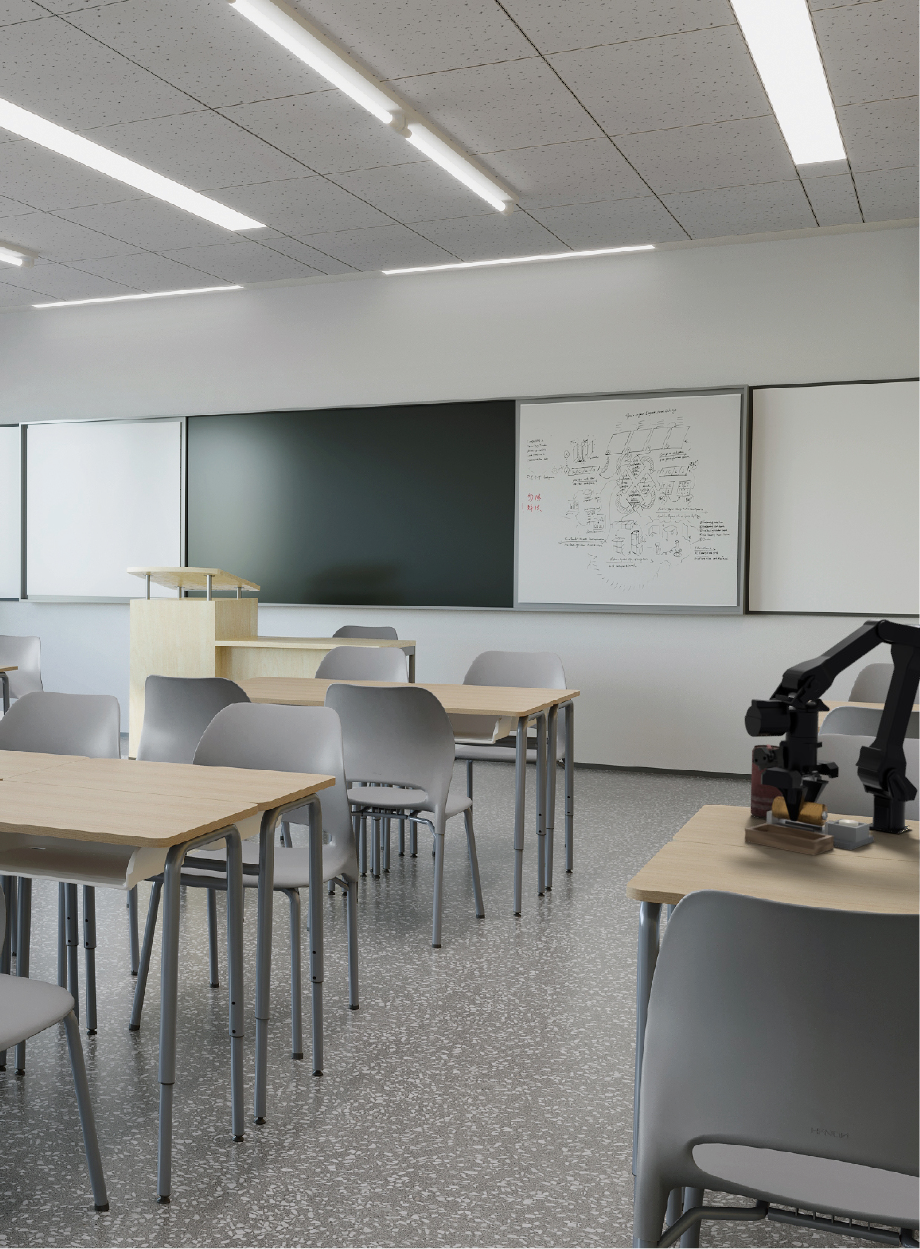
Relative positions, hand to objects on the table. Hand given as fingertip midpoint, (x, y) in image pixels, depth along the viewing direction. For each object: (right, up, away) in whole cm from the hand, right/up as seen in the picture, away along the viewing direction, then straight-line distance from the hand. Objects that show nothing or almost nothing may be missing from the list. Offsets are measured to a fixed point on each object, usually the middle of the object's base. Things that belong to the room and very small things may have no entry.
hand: (799, 819), depth 191 cm
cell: (0, +2, 0) cm, 2 cm away
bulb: (+7, -1, -7) cm, 9 cm away
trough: (-5, -3, -9) cm, 10 cm away
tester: (+2, -3, -2) cm, 4 cm away
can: (-2, -2, +14) cm, 15 cm away
